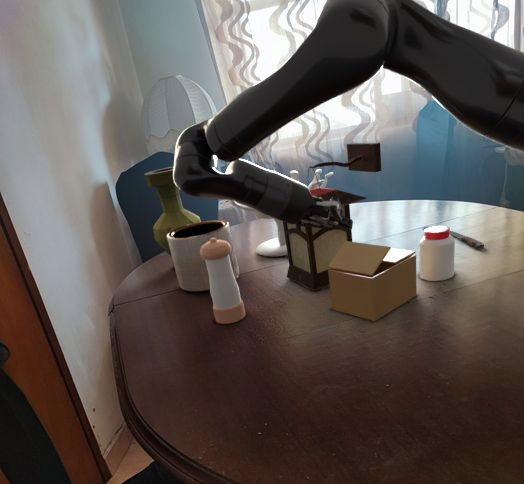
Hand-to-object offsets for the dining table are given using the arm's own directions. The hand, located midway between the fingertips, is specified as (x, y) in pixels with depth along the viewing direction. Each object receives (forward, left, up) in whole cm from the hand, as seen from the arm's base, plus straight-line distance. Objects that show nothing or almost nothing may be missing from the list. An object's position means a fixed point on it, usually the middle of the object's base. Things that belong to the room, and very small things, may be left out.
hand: (349, 226), depth 93 cm
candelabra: (+14, -54, -19) cm, 59 cm away
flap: (-1, 0, -7) cm, 7 cm away
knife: (-34, -38, -19) cm, 54 cm away
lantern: (+2, -24, -19) cm, 31 cm away
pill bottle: (-21, -12, -19) cm, 31 cm away
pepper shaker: (+29, -7, -19) cm, 35 cm away
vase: (+46, -54, -19) cm, 74 cm away
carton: (-4, -2, -19) cm, 19 cm away
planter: (+36, -34, -19) cm, 53 cm away
